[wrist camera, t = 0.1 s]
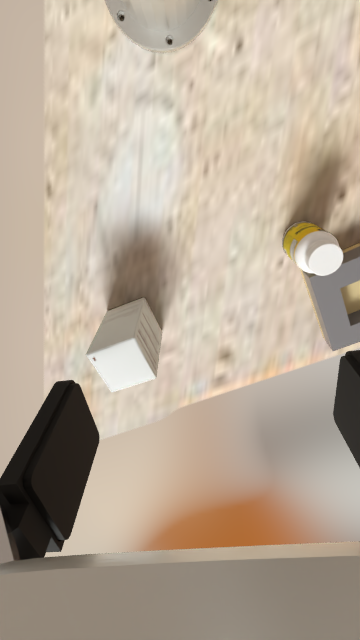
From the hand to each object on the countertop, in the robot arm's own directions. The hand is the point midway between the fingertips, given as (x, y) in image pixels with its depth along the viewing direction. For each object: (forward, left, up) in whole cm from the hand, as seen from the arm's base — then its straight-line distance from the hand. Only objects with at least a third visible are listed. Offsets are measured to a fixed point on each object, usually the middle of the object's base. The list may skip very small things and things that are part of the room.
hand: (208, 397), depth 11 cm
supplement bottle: (+6, +15, -37) cm, 40 cm away
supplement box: (+16, -12, -37) cm, 42 cm away
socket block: (+15, +24, -37) cm, 46 cm away
